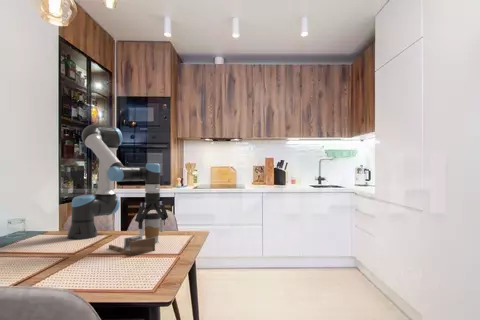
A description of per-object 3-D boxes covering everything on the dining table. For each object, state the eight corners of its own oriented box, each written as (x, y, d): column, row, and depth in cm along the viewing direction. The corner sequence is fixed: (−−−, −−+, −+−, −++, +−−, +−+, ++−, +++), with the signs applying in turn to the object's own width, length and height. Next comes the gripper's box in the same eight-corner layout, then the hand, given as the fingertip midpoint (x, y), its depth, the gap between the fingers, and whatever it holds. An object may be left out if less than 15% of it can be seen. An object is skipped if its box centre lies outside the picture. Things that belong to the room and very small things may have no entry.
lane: (108, 248, 156) (108, 235, 156) (131, 244, 166) (131, 232, 166) (131, 255, 144) (131, 242, 144) (154, 250, 153) (155, 237, 153)
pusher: (123, 251, 151) (124, 238, 151) (141, 247, 158) (141, 235, 158) (128, 252, 148) (128, 239, 148) (145, 248, 155) (145, 236, 155)
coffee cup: (162, 241, 173) (162, 213, 174) (156, 244, 165) (157, 215, 165) (147, 240, 174) (147, 212, 174) (140, 244, 166) (141, 215, 166)
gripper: (136, 193, 159) (135, 238, 158) (175, 191, 177) (174, 231, 176) (128, 193, 163) (127, 235, 163) (166, 191, 182) (165, 229, 181)
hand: (151, 233), depth 170 cm, fingers open, 12 cm apart
